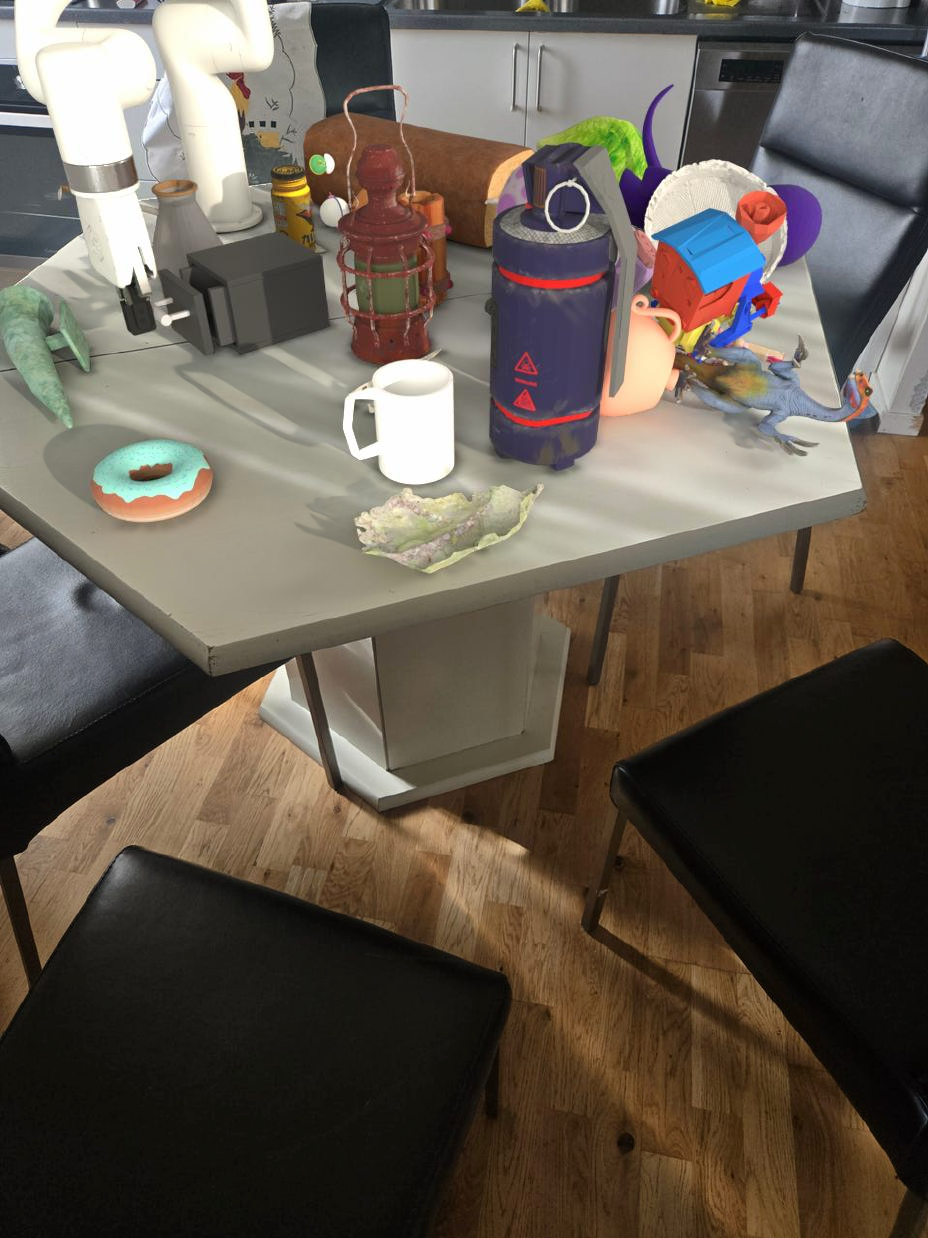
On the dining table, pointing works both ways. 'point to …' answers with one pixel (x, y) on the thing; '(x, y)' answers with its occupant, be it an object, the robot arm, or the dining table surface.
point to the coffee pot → (176, 224)
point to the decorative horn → (40, 343)
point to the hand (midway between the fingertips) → (142, 330)
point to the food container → (710, 202)
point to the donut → (139, 500)
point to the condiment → (293, 205)
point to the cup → (409, 421)
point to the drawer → (195, 308)
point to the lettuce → (607, 142)
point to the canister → (558, 305)
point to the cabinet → (268, 288)
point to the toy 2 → (645, 252)
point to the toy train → (716, 270)
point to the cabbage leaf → (443, 525)
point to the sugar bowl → (642, 361)
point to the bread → (419, 168)
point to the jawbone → (369, 385)
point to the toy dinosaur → (763, 388)
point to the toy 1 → (333, 205)
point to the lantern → (385, 257)
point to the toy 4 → (760, 351)
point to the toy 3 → (798, 200)
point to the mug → (436, 234)
